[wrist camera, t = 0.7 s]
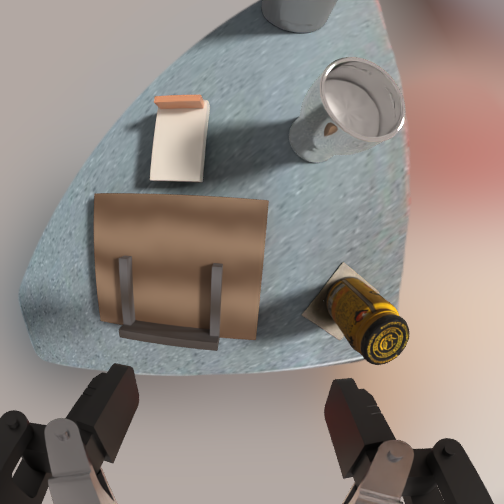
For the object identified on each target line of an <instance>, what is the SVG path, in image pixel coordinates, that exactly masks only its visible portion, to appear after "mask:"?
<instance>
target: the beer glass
mask: <svg viewBox="0 0 504 504" xmlns="http://www.w3.org/2000/svg"><path fill="white" fill-rule="evenodd" d="M404 119H405V103H404V99H403V96H402V93H401V91H400V89H399V87H398V85H397V84H396V82H395V81H394V79H393V78H392V77H391V76H390V75H389V74H388V73H387V72H386V71H385V70H384V69H382V68H381V67H380V66H378V65H376V64H375V63H373V62H371V61H368V60H365V59H362V58H357V57H345V58H341V59H338V60H335V61H334V62H332V63H331V64H329V65H328V66H327V67H326V69H325V70H324V72H323V73H322V74H321V75H320V76H319V77H318V78H317V79H316V80H315V81H314V83H313V84H312V85H311V87H310V88H309V90H308V91H307V93H306V95H305V97H304V99H303V102H302V106H301V110H300V117H299V118H297V119H296V120H295V121H294V122H293V124H292V125H291V127H290V131H289V141H290V145H291V147H292V149H293V150H294V152H295V153H296V154H297V155H298V156H299V157H300V158H302V159H304V160H306V161H308V162H313V163H320V162H324V161H327V160H329V159H330V158H331V157H333V156H334V155H352V154H356V153H360V152H363V151H366V150H368V149H370V148H372V147H374V146H376V145H378V144H380V143H382V142H383V141H386V140H388V139H390V138H392V137H393V136H395V135H396V134H397V133H398V132H399V130H400V129H401V127H402V125H403V122H404Z"/></svg>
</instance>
